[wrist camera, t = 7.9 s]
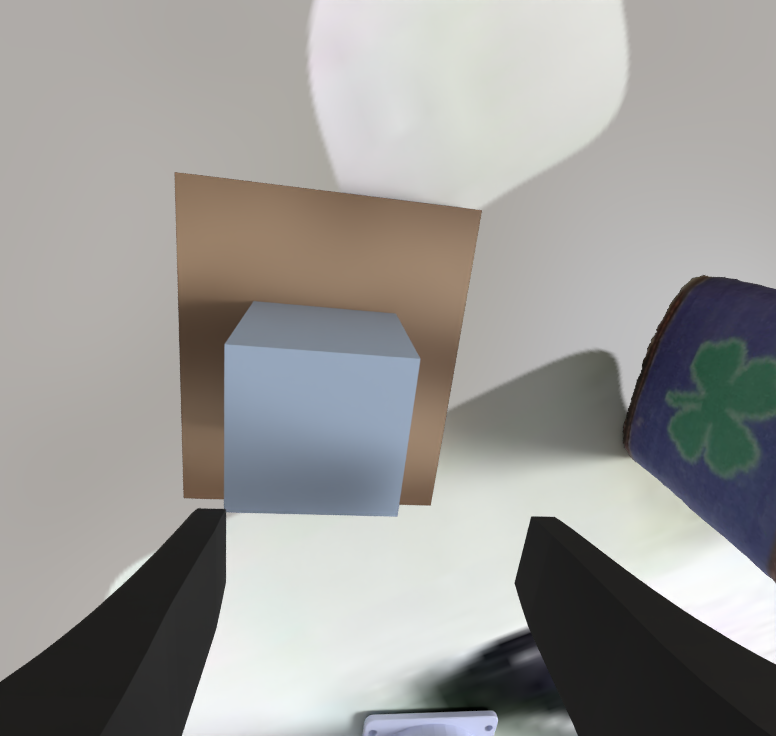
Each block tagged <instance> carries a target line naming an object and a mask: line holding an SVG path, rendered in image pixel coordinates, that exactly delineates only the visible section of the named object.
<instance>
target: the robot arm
mask: <svg viewBox="0 0 776 736" xmlns="http://www.w3.org/2000/svg"><path fill="white" fill-rule="evenodd" d="M225 584H226V509H200V508H198V509H197V510H195V511H194V512H193V513H192V514H191V515H190V516H189V517H188V518H187V519H186V520H185V521H184V523H183V524H182V525H181V526H180V527H179V528H178V529H177V530H176V531H175V532H174V534H173V535H172V536H171V537H170V538H169V539H168V540H167V541H166V542H165V543H164V544H163V545H162V546H161V547H160V548H159V549H158V550H157V551H156V552H155V553H154V554H153V555H152V556H151V557H150V558H149V559H148V560H147V561H146V562H145V563H144V564H143V565H142V566H141V567H140V568H139V569H138V570H137V571H136V572H135V573H134V574H133V575H132V576H131V577H130V578H129V579H128V580H127V581H126V582H125V583H124V584H123V585H122V586H121V587H119V588H118V589H117V590H116V591H115V592H114V593H113V594H112V595H111V596H109V597H108V598H107V599H106V600H105V601H104V602H103V603H102V604H101V605H100V606H99V607H97V608H96V609H95V610H94V611H93V612H92V613H90V614H89V615H88V616H87V617H86V618H85V619H83V620H82V621H81V622H80V623H79V624H77V625H76V626H75V627H74V628H72V629H71V630H70V631H69V632H68V633H66V634H65V635H64V636H62V637H61V638H60V639H59V640H57V641H56V642H55V643H53V644H52V645H51V646H50V647H48V648H47V649H46V650H44V651H43V652H42V653H40V654H39V655H38V656H36V657H35V658H33V659H32V660H31V661H29V662H28V663H27V664H25V665H24V666H22V667H21V668H19V669H18V670H17V671H15V672H14V673H12V674H11V675H9V676H8V677H7V678H5V679H4V680H2V681H1V682H0V736H182V733H183V730H184V727H185V724H186V721H187V718H188V715H189V712H190V709H191V706H192V702H193V699H194V696H195V693H196V690H197V687H198V684H199V681H200V678H201V675H202V672H203V669H204V665H205V662H206V659H207V656H208V653H209V650H210V647H211V644H212V640H213V637H214V634H215V631H216V628H217V623H218V618H219V614H220V609H221V604H222V599H223V594H224V589H225ZM515 586H516V589H517V593H518V596H519V600H520V603H521V606H522V609H523V612H524V615H525V618H526V621H527V624H528V627H529V629H530V631H531V633H532V636H533V638H534V640H535V642H536V645H537V647H538V649H539V651H540V653H541V656H542V658H543V660H544V662H545V664H546V666H547V669H548V671H549V673H550V675H551V677H552V679H553V682H554V684H555V686H556V688H557V690H558V692H559V695H560V697H561V699H562V701H563V703H564V705H565V707H566V710H567V712H568V714H569V716H570V718H571V720H572V723H573V725H574V727H575V730H576V732H577V734H578V736H776V664H774V663H772V662H770V661H768V660H766V659H764V658H763V657H761V656H759V655H757V654H755V653H753V652H751V651H750V650H748V649H746V648H744V647H743V646H741V645H739V644H737V643H736V642H734V641H732V640H730V639H729V638H727V637H726V636H724V635H722V634H721V633H719V632H717V631H716V630H714V629H712V628H711V627H709V626H707V625H706V624H704V623H702V622H701V621H699V620H698V619H696V618H694V617H693V616H691V615H690V614H688V613H687V612H685V611H684V610H682V609H681V608H679V607H678V606H676V605H675V604H673V603H672V602H670V601H669V600H667V599H666V598H665V597H663V596H662V595H660V594H659V593H657V592H656V591H654V590H653V589H652V588H650V587H649V586H647V585H646V584H645V583H643V582H642V581H640V580H639V579H638V578H636V577H635V576H634V575H632V574H631V573H630V572H628V571H627V570H625V569H624V568H623V567H621V566H620V565H619V564H617V563H616V562H615V561H614V560H612V559H611V558H610V557H608V556H607V555H606V554H604V553H603V552H602V551H600V550H599V549H598V548H596V547H595V546H594V545H593V544H591V543H590V542H589V541H587V540H586V539H585V538H583V537H582V536H581V535H579V534H578V533H577V532H575V531H574V530H573V529H571V528H570V527H569V526H567V525H566V524H564V523H563V522H562V521H560V520H559V519H557V518H555V517H532V516H531V520H530V524H529V528H528V532H527V536H526V540H525V544H524V548H523V552H522V556H521V560H520V564H519V568H518V572H517V576H516V580H515ZM497 723H498V718H497V715H496V713H495V712H494V711H490V710H489V711H460V712H432V713H404V714H376V715H370V716H368V717H367V718H366V719H365V721H364V728H363V735H362V736H494V733H495V730H496V726H497Z"/></svg>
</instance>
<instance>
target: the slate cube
mask: <svg viewBox="0 0 776 736" xmlns="http://www.w3.org/2000/svg"><path fill="white" fill-rule="evenodd" d="M419 366H420V357H419V355H418V353H417V351H416V350H415V348H414V346H413V344H412V342H411V340H410V339H409V337H408V335H407V333H406V331H405V329H404V328H403V326H402V324H401V322H400V320H399V318H398V317H397V315H396V314H394V313H383V312H372V311H360V310H349V309H338V308H326V307H315V306H303V305H292V304H281V303H269V302H258V301H253V303H252V304H251V306H250V307H249V309H248V310H247V312H246V313H245V315H244V316H243V318H242V319H241V321H240V322H239V324H238V325H237V327H236V328H235V330H234V331H233V332H232V334H231V335H230V337H229V338H228V340H227V341H226V343H225V359H224V509H226V512H236V513H276V514H316V515H356V516H398V509H399V502H400V495H401V488H402V482H403V475H404V468H405V461H406V454H407V448H408V441H409V434H410V427H411V420H412V413H413V407H414V400H415V393H416V386H417V379H418V373H419Z"/></svg>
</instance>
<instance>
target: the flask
mask: <svg viewBox="0 0 776 736" xmlns="http://www.w3.org/2000/svg"><path fill="white" fill-rule="evenodd" d="M656 330H657V333H655V336H654V337H653V338H652V339H651V343H650V344H649V347H648V348H647V354H646V357H645V358H644V360H643V364H642V370H641V374H640V376H639V377H638V379H637V383H636V386H635V389H634V392H633V396H632V398H631V403H630V406H629V408H628V412H627V418H626V419H625V420H626V421H625V422H624V426H623V428H624V430H623V433H624V437H623V440H624V441H623V443H624V444H625V445H624V448H625V449H626V450H627V451H628V453H629V455H630V457H631V458H632V459H633V460H634V461H635V462H637V463H638V464H639V465H641V466H642V467H643V468H644V469H646V470H647V471H648V472H650V473H651V474H652V475H653V476H654V477H656V478H657V479H658V480H659V481H661V482H662V483H663V484H664V485H665V486H666V487H668V488H669V489H670V490H671V491H672V492H673V493H674V494H675V495H676V496H677V497H679V498H680V499H682V500H683V502H684V503H685V504H686V505H687V506H688V507H689V508H690V509H691V510H692V511H694V512H695V513H696V514H697V515H698V516H699V517H701V518H702V519H703V520H704V521H705V522H707V523H708V524H709V525H710V526H711V527H713V528H714V529H715V530H716V531H718V532H719V533H720V534H721V535H723V536H724V537H725V538H726V539H727V540H728V541H729V542H731V543H732V544H733V545H734V546H735V547H736V548H737V549H738V550H740V551H741V552H742V553H743V554H744V555H745V556H747V557H748V558H749V559H750V560H751V561H752V562H753V563H754V564H755V565H756V566H757V567H758V568H760V569H761V570H762V571H763V572H764V573H765V574H766V575H767V576H769V577H770V578H772V579H773V580H774V581H775V583H776V289H773V288H768V287H765V286H762V285H758V284H753V283H748V282H742V281H739V280H737V279H729V278H725V277H708V276H705V275H703V276H700V277H695V278H692V279H691V281H689V282H688V283H687V284H686V285H684V286H683V287H682V288H681V290H680V292H679V293H678V295H677V296H676V297H675V298H674V300H673V301H672V302H671V304H670V305H669V308H668V309H667V312H666V314H665V317H663V320H662V321H661V323H660V324H659V325H658V328H657V329H656Z"/></svg>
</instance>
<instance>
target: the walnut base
mask: <svg viewBox="0 0 776 736" xmlns="http://www.w3.org/2000/svg"><path fill="white" fill-rule="evenodd" d="M175 201H176V238H177V274H178V308H179V309H178V310H179V345H180V382H181V414H182V416H181V418H182V453H183V490H184V498H195V499H224V359H225V343H226V341H227V340H228V338H229V337H230V335H231V334H232V332H233V331H234V330H235V328H236V327H237V325H238V324H239V322H240V321H241V319H242V318H243V316H244V315H245V313H246V312H247V310H248V309H249V307H250V306H251V304H252V303H253V301H258V302H269V303H281V304H292V305H303V306H315V307H326V308H338V309H349V310H360V311H372V312H383V313H394V314H396V315H397V317H398V318H399V320H400V322H401V324H402V326H403V328H404V329H405V331H406V333H407V335H408V337H409V339H410V340H411V342H412V344H413V346H414V348H415V350H416V351H417V353H418V355H419V357H420V366H419V373H418V379H417V386H416V393H415V400H414V407H413V413H412V420H411V427H410V434H409V441H408V448H407V454H406V461H405V468H404V475H403V482H402V488H401V495H400V502H399V505H431V500H432V495H433V489H434V483H435V477H436V472H437V466H438V460H439V454H440V449H441V443H442V437H443V431H444V426H445V420H446V414H447V408H448V403H449V397H450V391H451V385H452V380H453V374H454V368H455V362H456V357H457V350H458V345H459V339H460V334H461V328H462V322H463V316H464V311H465V305H466V299H467V293H468V288H469V282H470V276H471V270H472V264H473V259H474V253H475V247H476V241H477V236H478V230H479V224H480V219H481V213H482V210H475V209H467V208H459V207H451V206H443V205H435V204H427V203H419V202H411V201H403V200H395V199H387V198H379V197H371V196H363V195H355V194H347V193H339V192H331V191H323V190H315V189H307V188H299V187H291V186H282V185H274V184H267V183H258V182H251V181H243V180H234V179H226V178H219V177H210V176H203V175H194V174H186V173H185V174H184V173H177V172H175Z"/></svg>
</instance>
